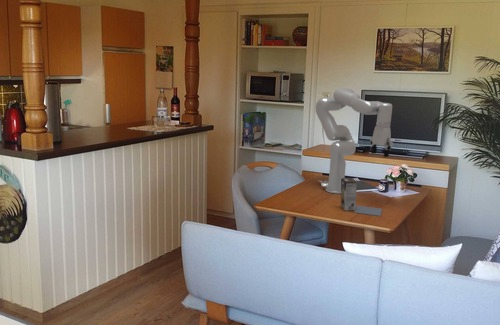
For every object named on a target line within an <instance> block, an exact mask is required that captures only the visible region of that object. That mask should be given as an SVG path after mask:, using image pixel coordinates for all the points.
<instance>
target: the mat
mask: <svg viewBox="0 0 500 325" xmlns="http://www.w3.org/2000/svg"><path fill="white" fill-rule="evenodd" d="M382 212H383V209H382V208H378V207H370V206H366V205H365V206H363V205H356V210H353V213H354V214H361V215H368V216H374V217H375V216H376V217H382V216H381V215H382Z"/></svg>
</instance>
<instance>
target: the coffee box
mask: <svg viewBox="0 0 500 325" xmlns="http://www.w3.org/2000/svg"><path fill="white" fill-rule="evenodd" d="M357 187H358V186H357V180H355V179H354V178H353V177H345V178H341V194H340V207H341V208H342V209H343V210H344V211H355V210H356V206H357Z"/></svg>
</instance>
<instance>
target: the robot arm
mask: <svg viewBox="0 0 500 325" xmlns="http://www.w3.org/2000/svg"><path fill="white" fill-rule="evenodd" d="M346 106H348V107H349V108H352V109H353V111H355V112H356V113H360V114H362V115H366V116H367V115H368V116H370V115H375V116H376V115H377V118H376V122H375V124H376V125H375V126H374V130H373V132H372V133H373V134H372V137H370V138H369V140H370V144H371V154H377V151H378V146H381V147H384V151H383V157H384V158H386V157H387V158H388V157H389V155H390V151H391V149H392V148H393V146H394V142H393V141H392V140H391V136H392V135H391V133H392V132H391V122H392V114H393V104H392V103H390V102H382V101H379V100H376V101H374V100H372V101H369V100H364V99H362V98H361V96H360V95H359V93H356V92H355V91H354V90H353V89H352V88H346V87H345V88H343V87H342V88H337V89H335V91H333V93H332V96H328V97H327V96H324V97H321V98H319V99H318V100H317V102H316V103H315V113H316V116H317V117H318V119H319V121H320V123H321V126H322V129H323V132H324V133H325V136H326V138H327V140H329V141H333V142H332V143H331V144H330V146H329V156H330V160H329V173H328V174H329V175H328V182H326V183H325V182H321V187H323V188H325V191H326V192H328V193H331V194H340V195H341V178H346V177H345V176H346V175H345V174H346V167H347V166H346V165H347V164H346V159H345V157H348V156H349V157H350V156H352V155H354V154H355V152H356V150H357V149H356V143H355V141H354V138H353V136H352V133H351V131H350V129H349V128H348V126H346V125H343V124H337V122H336V120H335V117H334V115H332V114H331V112H334V111H335V112H336V111H340V110H341V109H343V108H345V107H346ZM330 111H331V112H330Z"/></svg>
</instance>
